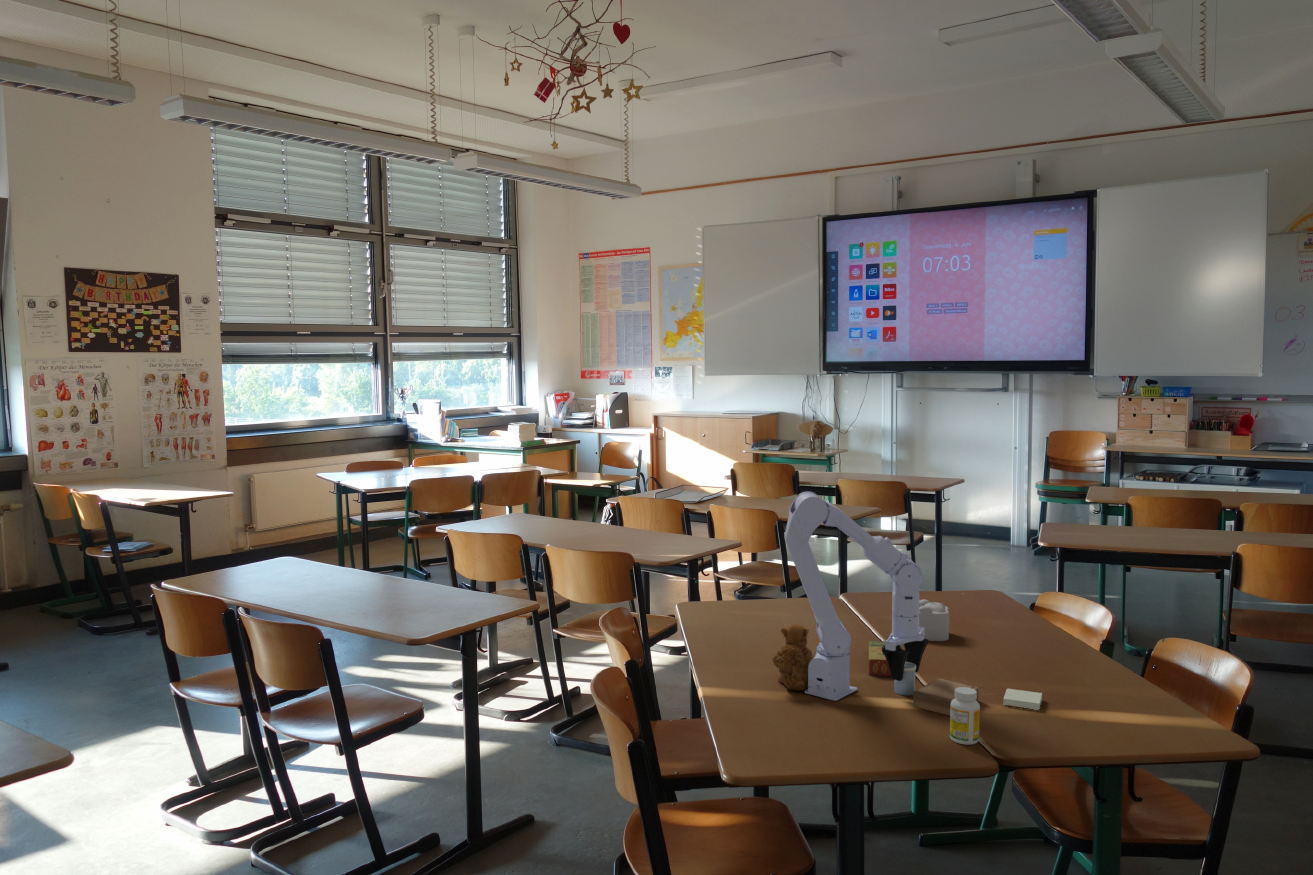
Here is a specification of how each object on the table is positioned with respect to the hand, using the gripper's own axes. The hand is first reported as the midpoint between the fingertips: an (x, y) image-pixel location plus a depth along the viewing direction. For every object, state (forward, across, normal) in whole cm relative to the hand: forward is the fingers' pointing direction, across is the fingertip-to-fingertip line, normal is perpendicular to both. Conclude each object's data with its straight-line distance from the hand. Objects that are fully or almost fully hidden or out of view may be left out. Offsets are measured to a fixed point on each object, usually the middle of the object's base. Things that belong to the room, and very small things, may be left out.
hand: (905, 675), depth 204 cm
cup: (+4, 0, 0) cm, 4 cm away
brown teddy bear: (+4, -12, +21) cm, 24 cm away
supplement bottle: (+4, -17, -21) cm, 27 cm away
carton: (+4, +14, +12) cm, 19 cm away
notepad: (+4, +10, -22) cm, 24 cm away
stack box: (+4, -1, -10) cm, 11 cm away
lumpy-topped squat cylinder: (+4, +44, +17) cm, 47 cm away
